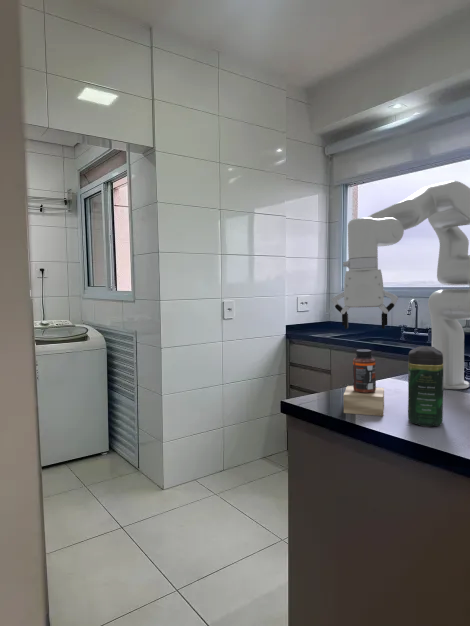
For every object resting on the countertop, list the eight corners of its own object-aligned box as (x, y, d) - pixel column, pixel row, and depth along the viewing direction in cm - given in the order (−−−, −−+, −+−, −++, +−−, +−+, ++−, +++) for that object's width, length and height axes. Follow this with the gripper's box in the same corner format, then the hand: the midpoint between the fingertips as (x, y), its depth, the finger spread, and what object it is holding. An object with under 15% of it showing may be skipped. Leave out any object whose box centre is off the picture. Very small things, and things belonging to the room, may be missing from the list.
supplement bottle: (377, 393, 111) (376, 351, 111) (354, 393, 113) (353, 352, 112) (374, 388, 117) (373, 348, 117) (352, 388, 118) (351, 348, 118)
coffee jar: (444, 429, 98) (444, 350, 97) (407, 425, 101) (407, 349, 100) (442, 417, 107) (442, 344, 105) (409, 414, 110) (408, 343, 109)
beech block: (347, 402, 122) (347, 385, 121) (384, 405, 118) (384, 387, 118) (343, 412, 112) (343, 394, 112) (383, 416, 109) (383, 397, 108)
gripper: (328, 266, 112) (330, 330, 114) (397, 262, 106) (398, 329, 107) (332, 267, 119) (334, 326, 121) (397, 263, 113) (398, 326, 114)
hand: (364, 328), depth 114 cm, fingers open, 9 cm apart
